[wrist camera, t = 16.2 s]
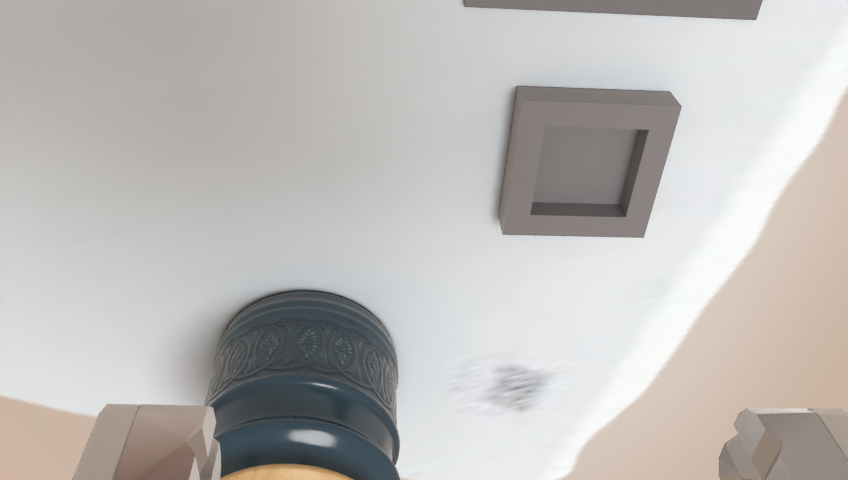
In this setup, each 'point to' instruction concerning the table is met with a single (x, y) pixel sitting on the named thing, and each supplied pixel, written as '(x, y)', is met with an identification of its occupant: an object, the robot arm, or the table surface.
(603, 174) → the grey square tray
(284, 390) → the canister
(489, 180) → the table surface
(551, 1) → the port
